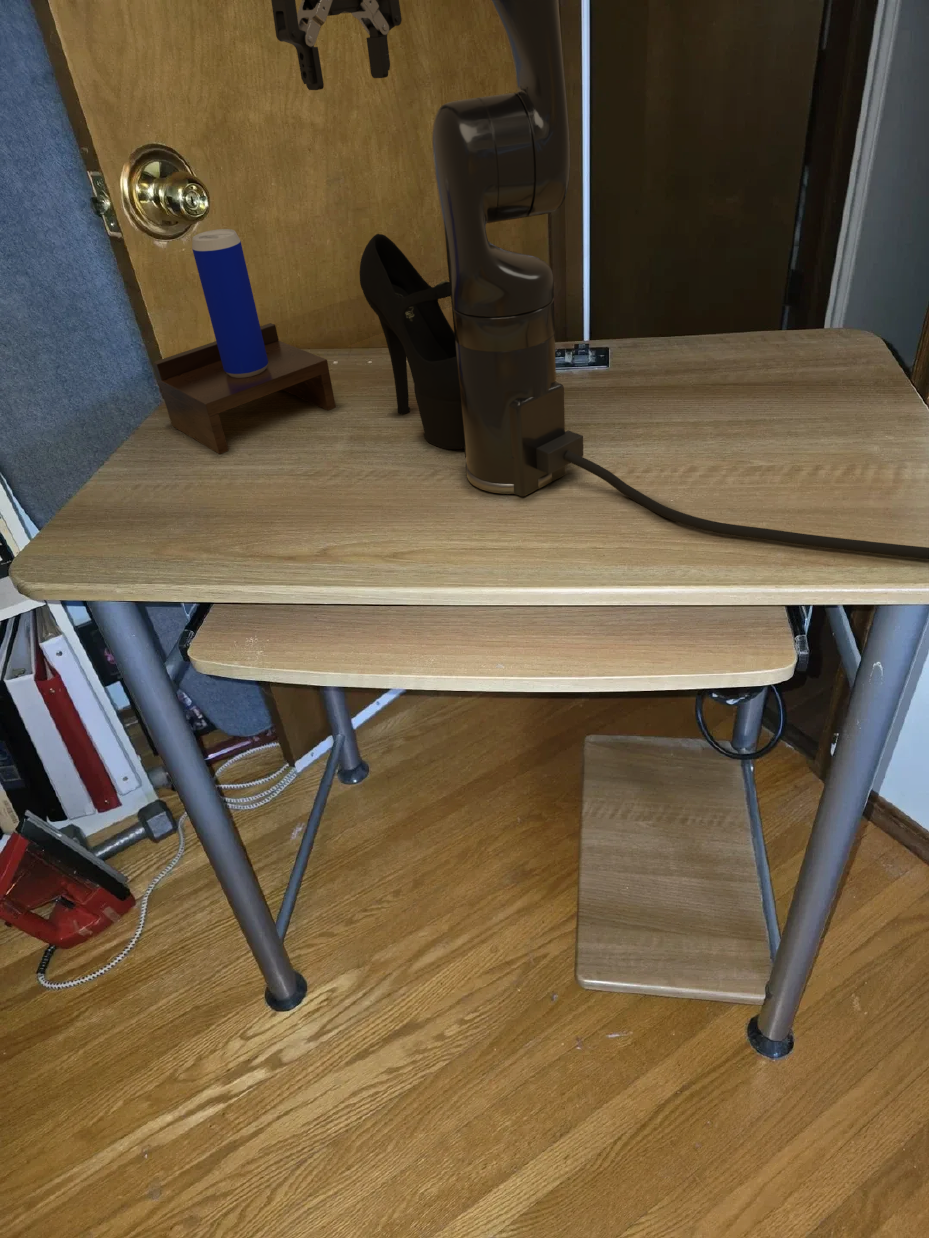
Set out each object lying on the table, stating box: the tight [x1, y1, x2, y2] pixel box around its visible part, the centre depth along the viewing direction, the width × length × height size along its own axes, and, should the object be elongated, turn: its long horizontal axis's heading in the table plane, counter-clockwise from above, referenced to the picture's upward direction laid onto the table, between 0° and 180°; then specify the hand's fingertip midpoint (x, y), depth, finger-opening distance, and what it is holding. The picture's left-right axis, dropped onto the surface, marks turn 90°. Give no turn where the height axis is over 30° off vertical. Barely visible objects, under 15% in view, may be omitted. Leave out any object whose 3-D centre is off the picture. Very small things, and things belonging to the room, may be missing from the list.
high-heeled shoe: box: [359, 233, 465, 450], centre depth 94 cm, size 8×19×20 cm, turn 39°
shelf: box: [152, 322, 337, 455], centre depth 105 cm, size 12×16×8 cm
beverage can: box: [191, 228, 268, 378], centre depth 98 cm, size 5×5×15 cm
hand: (348, 83), depth 94 cm, fingers open, 8 cm apart
